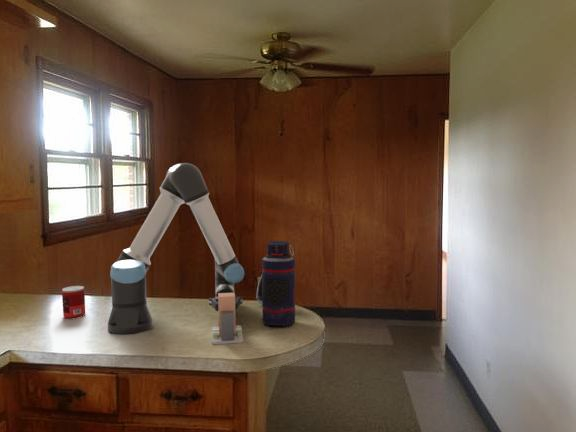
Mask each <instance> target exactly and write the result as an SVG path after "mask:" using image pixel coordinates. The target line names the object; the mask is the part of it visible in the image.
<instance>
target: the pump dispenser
mask: <svg viewBox="0 0 576 432" xmlns="http://www.w3.org/2000/svg"><path fill="white" fill-rule="evenodd" d="M255 299H256V300H257V302H258V304H259V306H261V307H262V274H261V276H260V278H259V281H258V283H257V288H256V297H255Z"/></svg>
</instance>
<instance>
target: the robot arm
mask: <svg viewBox="0 0 576 432" xmlns="http://www.w3.org/2000/svg"><path fill="white" fill-rule="evenodd" d="M159 192H160V194H159V196H158V198H157V200H156V201H155V203H154V205H153V207H152V208H151V210H150V211H149V213H148V215H147V216H146V219H145V220H144V222H143V224H142V225H141V227H140V229H139V230H138V232H137V234H136V236H135V237H134V238H133V241H132V242H131V245H130V246H129V247H128V248H125V249H123V250H122V251H121V253H120V255H119V257H118V258H117V260H116V261H115V262H114V263H113V264H112V265H111V267H110V273H109V275H110V281H111V283H110V284H111V303H112V305H111V307H112V308H111V311H110V315H109V319H108V321H107V331H108V332H110V333H111V332H112V334H115V335H116V334H117V335H130V334H137V333H141V332H145V331H147V330H149V329H151V328H152V327H153V317H152V315H151V312H150V309H149V307H148V303H147V302H148V301H147V276H146V275H147V272H148V270H149V268H150V267H151V265H152V262H151V259H150V258H151V256H152V255H153V253H154V251H155V250H156V248H157V247H158V244H159V243H160V241H161V240H162V237H163V236H164V234H165V232H166V231H167V230H168V227H169V226H170V224H171V222H172V220H173V218H174V217H175V215H176V213H177V212H178V209H179V208H180V206H181V205H183V204H186V205H188V206H189V208H190V210H191V212H192V214H193V216H194V217H195V218H194V219H195V220H196V222H197V224H198V226H199V228H200V230H201V233H202V234H203V236H204V238H205V241H206V243H207V245H208V247H209V249H210V251H211V253H212V255H213V258H214V271H215V272H214V274H215V277H214V278H215V279H214V281H215V286H214V287H215V290H214V291H215V297H209V298H208V305H209V306H210V307H212V309H214V310H215V311H216V312H219V309H218V293H235V284H237V283H240V282H242V281H243V279H244V277H245V270H244V267H243V266H242V265H241V264H240V263H239V260H238V258H237V257H236V254H235V252H234V249H233V247H232V245H231V243H230V241H229V239H228V237H227V234H226V233H225V230H224V228H223V226H222V224H221V222H220V220H219V217H218V215H217V213H216V211H215V209H214V207H213V205H212V202H211V200H210V198H209V195H210V191H209V188H208V187H207V185H206V182H205V179H204V178H203V174H202V172H201V171H200V169H199V168H198V167H197V166H196V165H194V164H192V163H189V162H182V163H180V162H179V163H176V164H174V165H172V166H171V167H169V169H168V170H167V171H166V174H165V178H164V180H163V181H162V183H161V185H160V186H159ZM235 294H236V293H235ZM243 298H244V297H243V295H242V296H236V295H235V311H237V310H238V308H239V307H240V305H242V304H243Z"/></svg>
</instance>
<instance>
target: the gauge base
mask: <svg viewBox="0 0 576 432" xmlns="http://www.w3.org/2000/svg"><path fill="white" fill-rule="evenodd" d="M211 328H212V331H211V333H212V335H211V336H212V337H211V344H212V345H221V344H224V345H225V344H236V343H237V344H238V343H244V335H243V330H236V335H234V341H222V340H221V336H219V332H213V329H219V326H212V327H211ZM236 328H242V325H239V324H238V325H236Z"/></svg>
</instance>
